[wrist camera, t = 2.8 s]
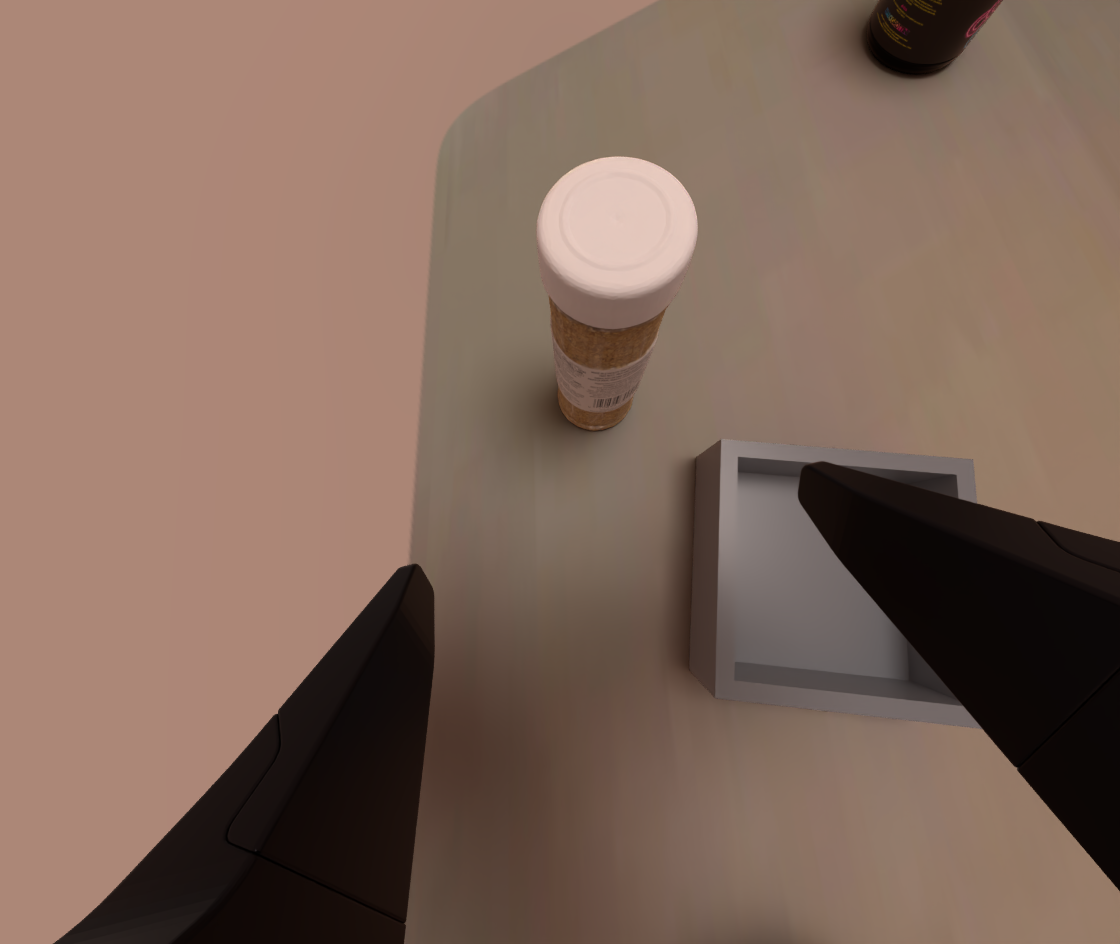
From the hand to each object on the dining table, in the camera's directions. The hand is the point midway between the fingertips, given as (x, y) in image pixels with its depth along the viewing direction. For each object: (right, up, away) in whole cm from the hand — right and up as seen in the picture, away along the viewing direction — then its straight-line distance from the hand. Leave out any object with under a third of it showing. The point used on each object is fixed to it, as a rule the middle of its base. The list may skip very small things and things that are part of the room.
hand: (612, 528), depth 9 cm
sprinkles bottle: (+1, +6, +15) cm, 16 cm away
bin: (+12, -4, +13) cm, 18 cm away
